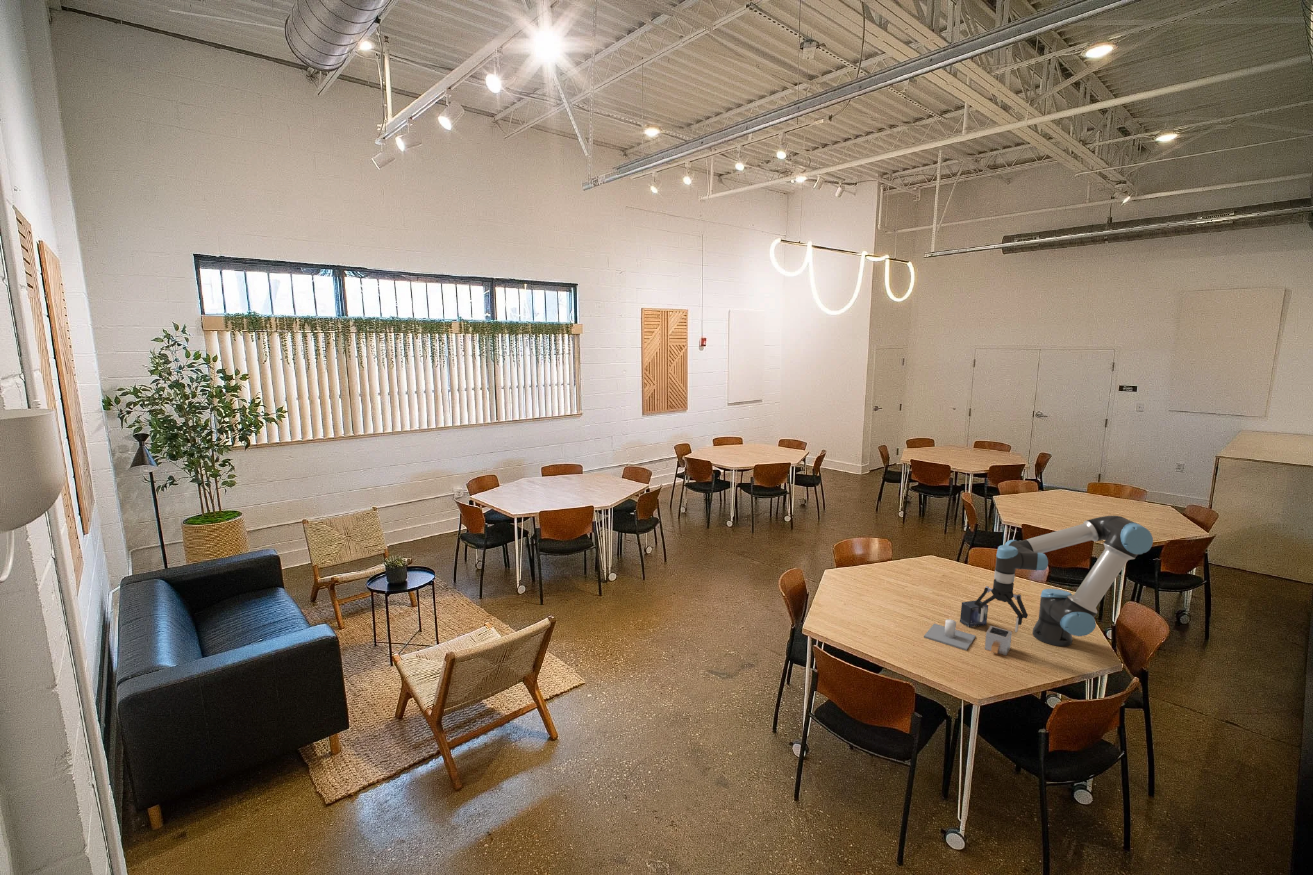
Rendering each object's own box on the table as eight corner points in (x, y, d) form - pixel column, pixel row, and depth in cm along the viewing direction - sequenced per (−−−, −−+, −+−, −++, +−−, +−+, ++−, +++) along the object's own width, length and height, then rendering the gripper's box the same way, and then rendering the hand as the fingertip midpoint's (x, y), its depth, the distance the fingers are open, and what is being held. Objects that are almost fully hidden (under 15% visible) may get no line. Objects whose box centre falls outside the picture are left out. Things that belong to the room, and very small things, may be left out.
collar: (1010, 648, 256) (1011, 631, 255) (1004, 658, 248) (1006, 641, 247) (989, 641, 262) (990, 625, 261) (983, 651, 253) (984, 634, 252)
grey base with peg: (975, 637, 266) (976, 621, 265) (966, 650, 254) (967, 634, 253) (934, 624, 278) (935, 609, 277) (923, 637, 266) (924, 621, 265)
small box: (969, 628, 275) (971, 607, 273) (959, 622, 281) (960, 601, 279) (987, 625, 278) (989, 604, 276) (976, 619, 284) (978, 599, 282)
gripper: (1038, 586, 246) (1033, 632, 249) (974, 570, 262) (969, 614, 265) (1036, 591, 240) (1030, 638, 244) (970, 575, 256) (965, 619, 260)
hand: (998, 625), depth 254 cm, fingers open, 13 cm apart
